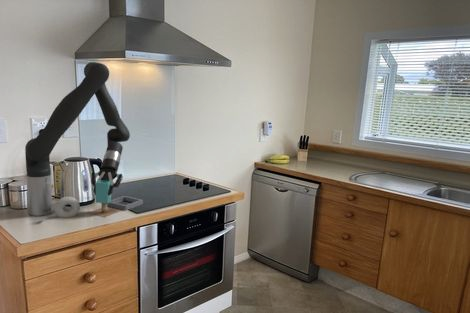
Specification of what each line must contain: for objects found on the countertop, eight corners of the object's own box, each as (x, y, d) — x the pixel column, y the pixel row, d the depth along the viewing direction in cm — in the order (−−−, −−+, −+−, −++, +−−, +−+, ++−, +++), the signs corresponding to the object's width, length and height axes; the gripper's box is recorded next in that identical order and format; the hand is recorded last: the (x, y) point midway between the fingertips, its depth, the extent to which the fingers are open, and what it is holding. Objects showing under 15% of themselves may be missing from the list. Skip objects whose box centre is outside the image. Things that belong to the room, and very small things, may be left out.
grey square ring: (106, 208, 166) (106, 201, 166) (124, 202, 177) (124, 195, 177) (125, 213, 161) (125, 206, 161) (142, 206, 172) (143, 199, 172)
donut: (55, 222, 146) (54, 199, 145) (54, 219, 149) (53, 196, 148) (80, 218, 152) (80, 196, 150) (79, 216, 155) (78, 194, 153)
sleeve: (95, 202, 154) (95, 182, 152) (99, 199, 159) (99, 179, 158) (107, 203, 154) (107, 183, 153) (111, 199, 159) (111, 180, 158)
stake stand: (87, 216, 155) (87, 202, 154) (104, 210, 164) (104, 196, 163) (104, 220, 151) (104, 206, 150) (120, 214, 160) (120, 200, 159)
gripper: (93, 156, 161) (83, 188, 151) (125, 158, 161) (117, 190, 151) (97, 165, 167) (87, 197, 157) (127, 167, 167) (120, 199, 158)
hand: (102, 193), depth 154 cm, fingers closed on sleeve, 5 cm apart
